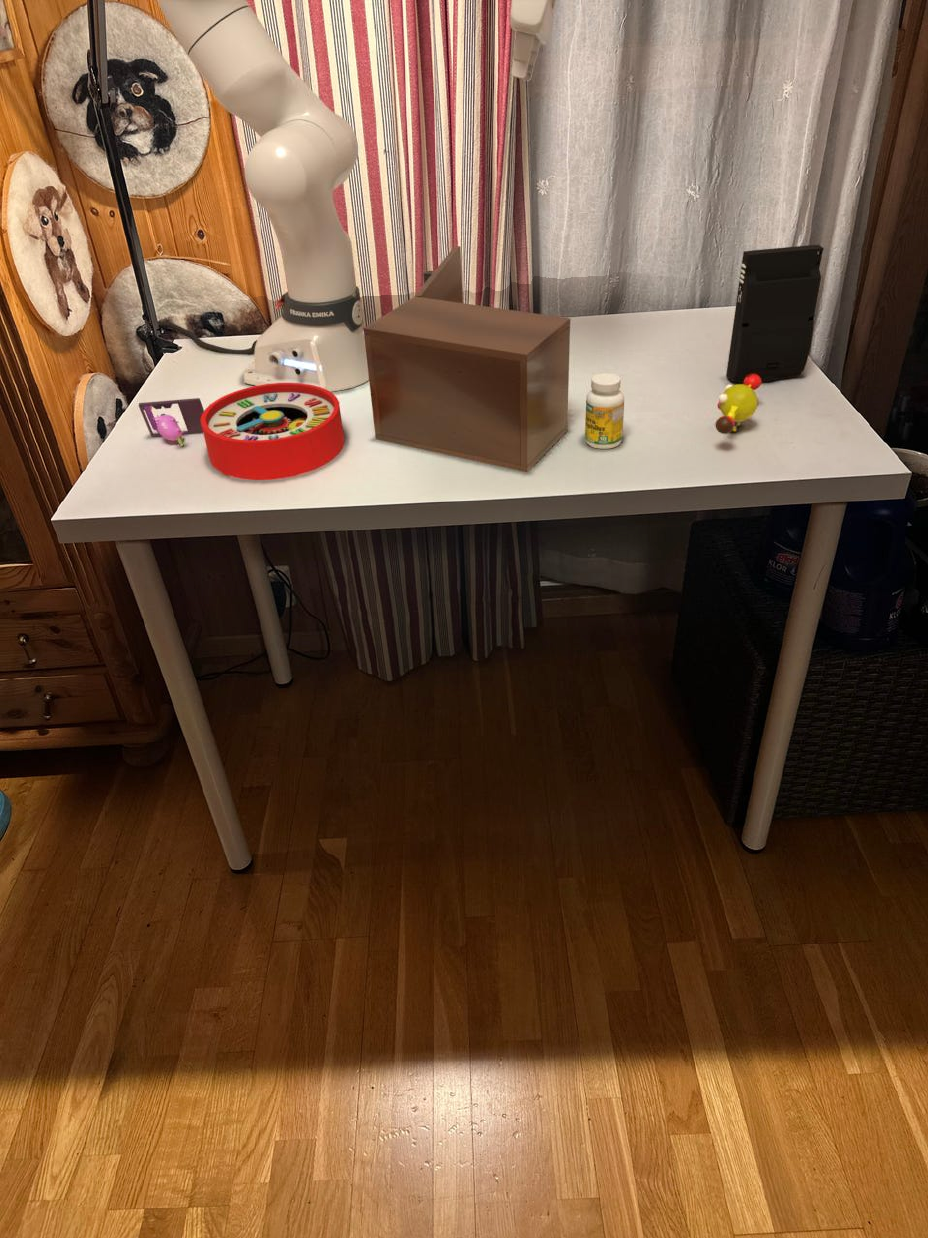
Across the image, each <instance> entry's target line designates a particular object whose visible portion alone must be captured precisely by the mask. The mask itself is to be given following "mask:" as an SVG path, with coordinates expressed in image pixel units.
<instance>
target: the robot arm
mask: <svg viewBox="0 0 928 1238" xmlns="http://www.w3.org/2000/svg"><path fill="white" fill-rule="evenodd" d="M156 1H157V3H158V6H159V9H160V10H161V12H162V14H163V16H164V19H165V20H166V22H167V24H168V25H169V27H170V29H171V31H172V32H173V34H174V36H175V37H176V39H177V41H178V42H179V45H180V46H181V48H182V50H183V51H184V52H185V53H186V55H187V56H188V58H189V59H190V61H191V63H192V64H193V65H194V66H195V68H196V70H197V71H198V73H199V74H200V76H201V77H202V79H203V80H204V81H205V84H207V86H208V88H209V89H210V90H211V92H212V94H213V95H214V96H215V98H216V100H218V102H219V104H220V105H221V106H222V107H223V109H225V110H226V111H227V112H228V113H229V114H231V115H234V116H235V117H237V118H239V119H240V120H241V121H243V122H244V123H245V124H246V125H248V126H249V127H250V128H251V130H253V131H254V132H255V133H256V134H257V135H258V136H259V137H260V138H259V139H258V140H257V142H256V143H255V144H254V145H253V147H252V148H251V150H250V151H249V152H248V155H247V156H246V159H245V164H244V179H245V184H246V186H247V189H248V191H249V192H250V193H249V194H251V196H252V197H253V199H254V200H255V202H257V203H258V204H259V205H260V206H261V207H262V208H263V209H264V210H265V213H266V214H267V216H268V219H269V222H270V224H271V225H272V228H273V231H274V233H275V236H276V240H277V242H278V246H279V250H280V254H281V259H282V266H283V270H284V271H283V272H284V276H285V282H286V283H285V284H286V288H287V289H286V290H287V291H286V292H284V293H283V294H282V295H280V297H279V299H278V300H276V301H275V302H274V304H275V309H276V310H278V309H280V308H281V310H282V311H281V315H280V316H279V317H278V318H277V319H276V320H275V321H274V322H273V323H272V324H271V325H270V326H269V327H268V328H267V329H266V330H265V331H263V333H262V334H260V336H259V337H258V338H257V339H256V340H254V341H253V342H252V344H251V347H249V348H245V349H231V348H226V347H222V346H218V345H215V344H211V343H207V342H206V341H203V340H202V339H201V338H199V337H198V336H197V334H195V333H194V332H193V331H191V330H189V329H186V328H184V327H182V326H180V325H178V324H175V323H173V322H170V321H165V320H164V321H160V322H159V323H160V326H158V327H159V330H158V331H160V330H161V329H162V328H165V327H167V328H171V329H173V330H175V331H177V332H179V333H181V334H183V335H185V336H187V337H190V338H191V339H192V340H193V341H194V342H195V343H196V344H197V345H198V346H199V347H202V348H204V349H208V350H211V351H215V352H218V353H222V354H231V355H252V354H254V358H253V359H254V361H253V362H252V363H250V364H249V365H248V366H247V368H246V369H245V371H244V372H243V381H244V384H247V385H252V386H258V385H264V384H273V383H302V384H309V385H314V386H318V387H321V388H324V389H326V390H328V391H330V392H331V393H333V392H338V391H345V390H348V389H352V388H355V387H358V386H360V385H363V384H365V383H367V382H369V375H368V366H367V357H366V348H365V339H364V330H363V328H364V327H363V322H364V321H363V318H364V317H363V306H362V300H361V293H360V288H359V287H358V286H357V280H356V272H355V264H354V254H353V245H352V240H351V237H350V235H349V234H348V233H347V231H345V230H344V228H343V225H342V224H341V220H340V218H339V215H338V212H337V208H336V205H335V201H334V190H336V189H337V188H339V187H340V186H342V185H343V184H344V183H345V182H346V181H347V180H348V178H349V176H351V173H352V171H353V170H354V168H355V165H356V163H357V160H358V157H359V156H358V155H359V141H358V139H357V135H356V133H355V131H354V129H353V127H352V126H351V124H350V123H349V122H348V121H347V120H346V119H345V118H344V117H342V116H341V115H339V114H337V113H335V112H334V111H332V110H331V109H330V108H329V107H328V106H327V105H326V104H325V103H324V102H323V101H322V99H321V98H320V97H318V96H317V94H316V93H315V91H313V89H311V88H310V87H309V85H307V83H306V82H305V81H304V80H303V79H302V77H300V76H299V74H298V73H297V72H296V71H295V70H294V68H293V67H291V65H290V64H289V63H288V61H287V60H286V58H285V57H284V56H283V54H282V52H280V50H279V49H278V47H277V46H276V44H275V42H274V41H273V39H272V38H271V36H270V35H269V33H268V32H267V30H266V28H265V27H264V25H263V24H262V22H261V21H260V19H259V18H258V16H257V15H256V12H255V11H254V10H253V9H252V7H251V5H250V4H249V3H248V1H247V0H156ZM556 4H557V0H511V2H510V5H511V6H510V15H509V16H510V17H509V23H510V24H509V25H510V26H509V27H510V29H512V30H513V32H515V33H516V34H515V35H516V36H515V40H514V51H513V61H512V66H511V73H510V74H511V75H512V76H513V78H514V77H515V78H518V79H519V80H521V81H525V82H529V81H531V80H532V78H533V72H534V67H535V64H536V62H537V59H538V55H539V50H540V46H541V45H543V46H544V45H547V43H548V41H549V39H550V33H551V29H552V23H553V18H554V15H555V8H556Z"/></svg>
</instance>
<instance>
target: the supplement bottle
mask: <svg viewBox="0 0 928 1238" xmlns="http://www.w3.org/2000/svg"><path fill="white" fill-rule="evenodd" d="M590 387H591V390H589V391H588V393H587V394H586V397H585V418H584V420H585V422H584V423H585V424H584V441H585V443H586V444H587V445H588V446H589V447H592V448H595V449H600V450H601V449H603V450H609V449H613V448H616V447H618V446H619V445H621V443H622V441H623V431H624V430H623V429H624V415H625V414H624V412H625V395H624V393H623V392H622V390H620V389H621V378H620V376H619V375H617V374H614V373H598V374H595V375H593V376H592V377H591V383H590Z"/></svg>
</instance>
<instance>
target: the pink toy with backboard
mask: <svg viewBox="0 0 928 1238" xmlns="http://www.w3.org/2000/svg"><path fill="white" fill-rule="evenodd" d="M173 405H178V408H179V411H180V413H181V416H182V419H183V422H184V425H185V428H186V430H184V431H183V430H182V429H181V428H180V426H179V424H178V423H179V421H178V420H176V417H174V416H172V415H170V414H165V413H161V414H160V415H158V414H157V415H156V416H154V413H153V411H152V410H153V409H155V410H161V409H162V408H164V409H172V406H173ZM138 408H139V411H140V413H141V416H142V417H143V420H144V423H145V426H146V428H147V430H148V432H149V435H150V437H151V438H157V437H163V438H164V439H166V440H167V441H177V442H178V444H179V445H180V447H183V446H184V443H183V440H182V439H181V438H182V435H191V434H203V429H202V425H201V416H202V414H203V412H204V411H205V409H204V406H203V403H202V401H201V398H199V397H195V398H194V397H193V398H184V399H183V398H181V399H172V400H171V399H170V400H159V401H148V402H138ZM153 431H155V432H156V433H154V432H153Z"/></svg>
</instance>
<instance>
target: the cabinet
mask: <svg viewBox="0 0 928 1238" xmlns="http://www.w3.org/2000/svg"><path fill="white" fill-rule="evenodd" d="M363 332H364V339H365V348H366V357H367V366H368V375H369V380H368V382H369V392H370V401H371V409H372V418H373V427H374V434H375V436H374V437H375V440H377V441H382V442H387V443H389V444H395V445H400V446H403V447H409V448H413V449H418V450H422V451H427V452H432V453H436V454H441V455H445V456H450V457H454V458H459V459H462V460H463V459H464V460H468V461H473V462H477V463H482V464H487V465H491V466H497V467H499V468H504V469H510V470H512V471H513V470H514V471H518V472H522V473H523V472H524V473H528V472H529V471H530V470H531V469H532V468H533V467H534V466H535V465H536V464H537V463H538V462H539V461H540V460H541V459H542V458H543V457H544V456H545V455H546V454H547V453H548V452H549V451H550V450H551V449H552V448H553V446H554V445H555V444H556V443H558V441H559V440H560V439H562V437H563V436H565V434H566V433H567V432H568V422H569V421H568V419H569V382H570V380H569V377H570V348H571V347H570V343H571V318H570V317H562V316H556V315H550V314H549V315H548V314H544V313H543V314H542V313H535V312H534V313H533V312H529V311H520V310H515V309H507V308H500V307H492V306H487V305H486V306H485V305H479V304H472V303H465V302H463V303H458V302H451V301H444V300H437V299H430V298H423V297H416V296H415V295H414V296H413V297H412V298H410V299H408V300H407V301H405V302H403V303H402V304H400V305H399V306H397V307H396V308H394V309H393V310H391V311H389V312H387V313H386V314H384V315H383V316H381V317H379V318H378V319H376V320H374V321H373V322H371V323H369V324H368V325H366V326H365V327H363Z"/></svg>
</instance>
